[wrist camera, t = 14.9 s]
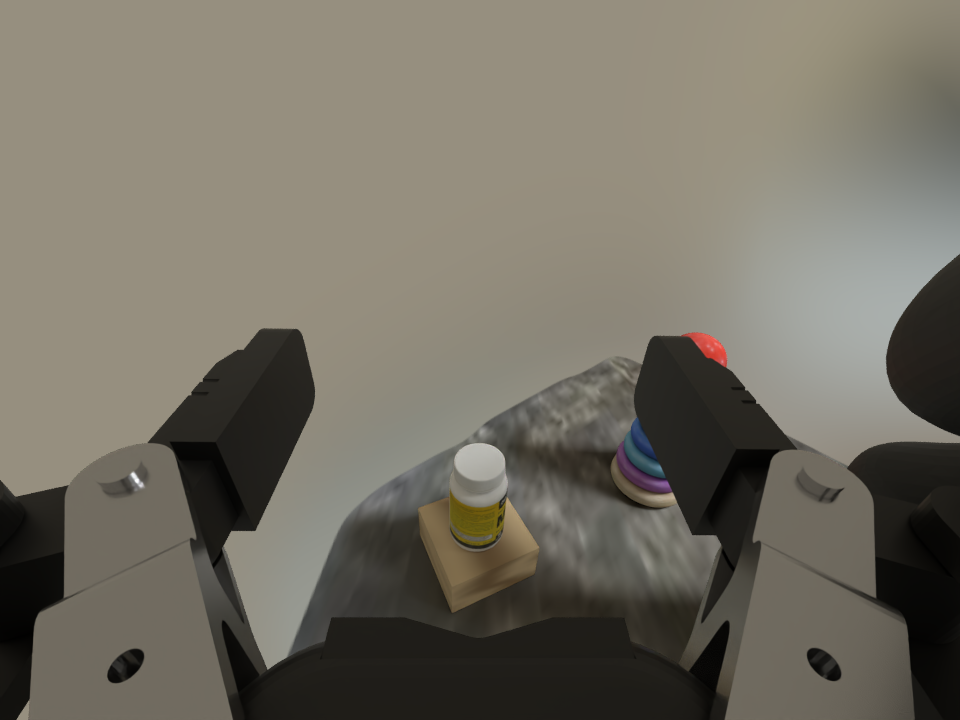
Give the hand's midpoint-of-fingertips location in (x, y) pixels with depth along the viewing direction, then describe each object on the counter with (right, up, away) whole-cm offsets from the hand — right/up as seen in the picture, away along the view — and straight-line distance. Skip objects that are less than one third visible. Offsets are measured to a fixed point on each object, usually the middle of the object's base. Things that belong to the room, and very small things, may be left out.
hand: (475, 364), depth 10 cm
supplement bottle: (0, -15, +28) cm, 31 cm away
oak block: (0, -18, +30) cm, 35 cm away
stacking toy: (+19, -14, +38) cm, 44 cm away
